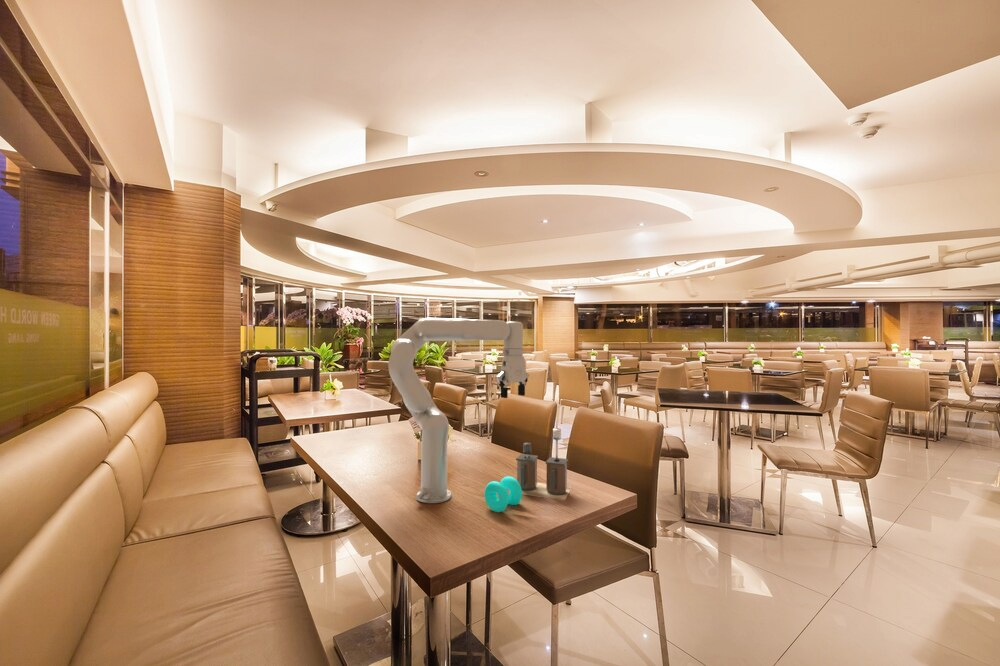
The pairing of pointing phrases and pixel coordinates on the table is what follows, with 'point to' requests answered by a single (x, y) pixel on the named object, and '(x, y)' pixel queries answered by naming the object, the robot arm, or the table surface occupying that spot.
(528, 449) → the far press
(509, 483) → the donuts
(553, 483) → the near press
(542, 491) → the serving board
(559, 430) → the plunger
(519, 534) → the table surface
